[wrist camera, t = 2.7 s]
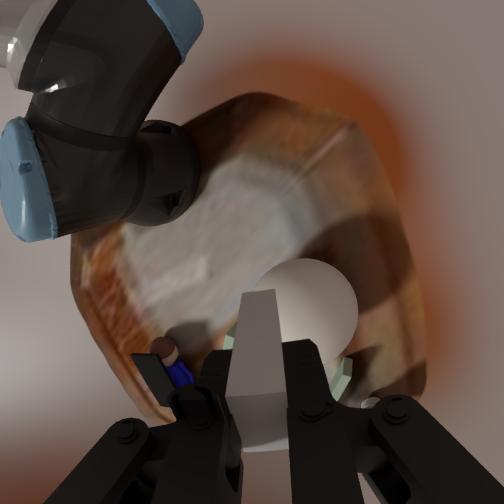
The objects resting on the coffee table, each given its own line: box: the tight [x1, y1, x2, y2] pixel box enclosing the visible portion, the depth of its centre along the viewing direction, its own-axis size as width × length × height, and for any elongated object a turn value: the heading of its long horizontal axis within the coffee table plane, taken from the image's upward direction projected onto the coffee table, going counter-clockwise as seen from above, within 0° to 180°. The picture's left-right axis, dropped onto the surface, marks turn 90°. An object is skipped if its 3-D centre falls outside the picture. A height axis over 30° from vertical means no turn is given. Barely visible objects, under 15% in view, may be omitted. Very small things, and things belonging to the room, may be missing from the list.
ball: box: [252, 258, 358, 364], centre depth 28 cm, size 12×12×12 cm
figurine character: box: [130, 337, 195, 411], centre depth 42 cm, size 7×8×15 cm
